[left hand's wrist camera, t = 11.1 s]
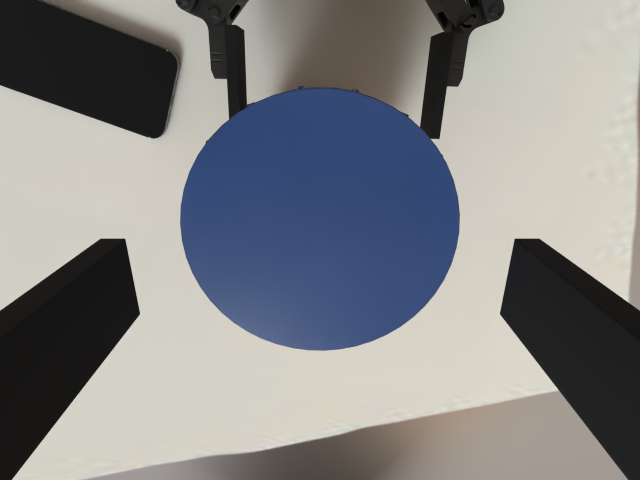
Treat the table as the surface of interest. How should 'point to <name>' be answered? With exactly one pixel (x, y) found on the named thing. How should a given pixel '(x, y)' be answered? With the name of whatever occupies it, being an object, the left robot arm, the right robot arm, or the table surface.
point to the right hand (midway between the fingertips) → (334, 134)
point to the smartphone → (86, 66)
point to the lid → (320, 218)
